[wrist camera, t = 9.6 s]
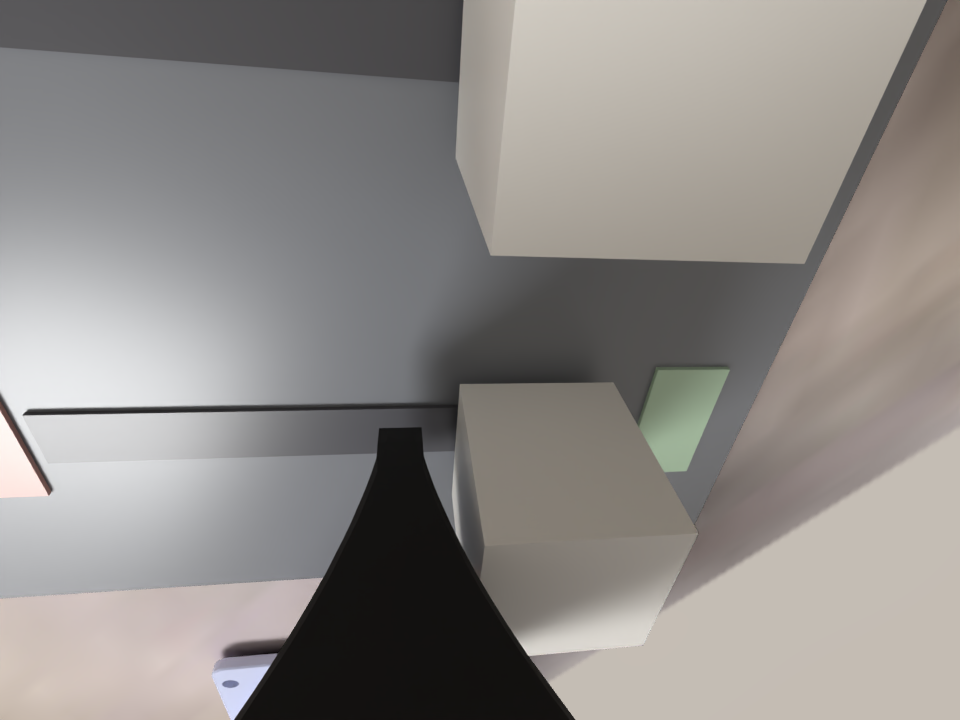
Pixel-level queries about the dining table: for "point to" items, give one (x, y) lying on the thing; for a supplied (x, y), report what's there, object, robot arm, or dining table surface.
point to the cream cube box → (667, 122)
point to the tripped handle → (565, 514)
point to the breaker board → (299, 288)
